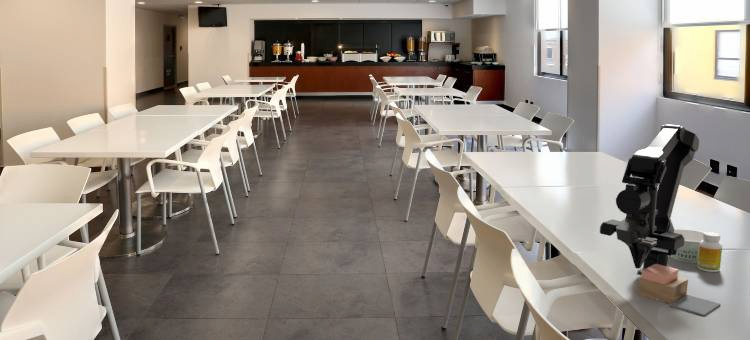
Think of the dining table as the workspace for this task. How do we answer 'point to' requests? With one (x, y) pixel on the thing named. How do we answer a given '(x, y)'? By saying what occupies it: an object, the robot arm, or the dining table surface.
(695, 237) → the food container
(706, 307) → the mat
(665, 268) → the pink block
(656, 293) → the brown square block
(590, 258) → the dining table surface
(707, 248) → the supplement bottle
